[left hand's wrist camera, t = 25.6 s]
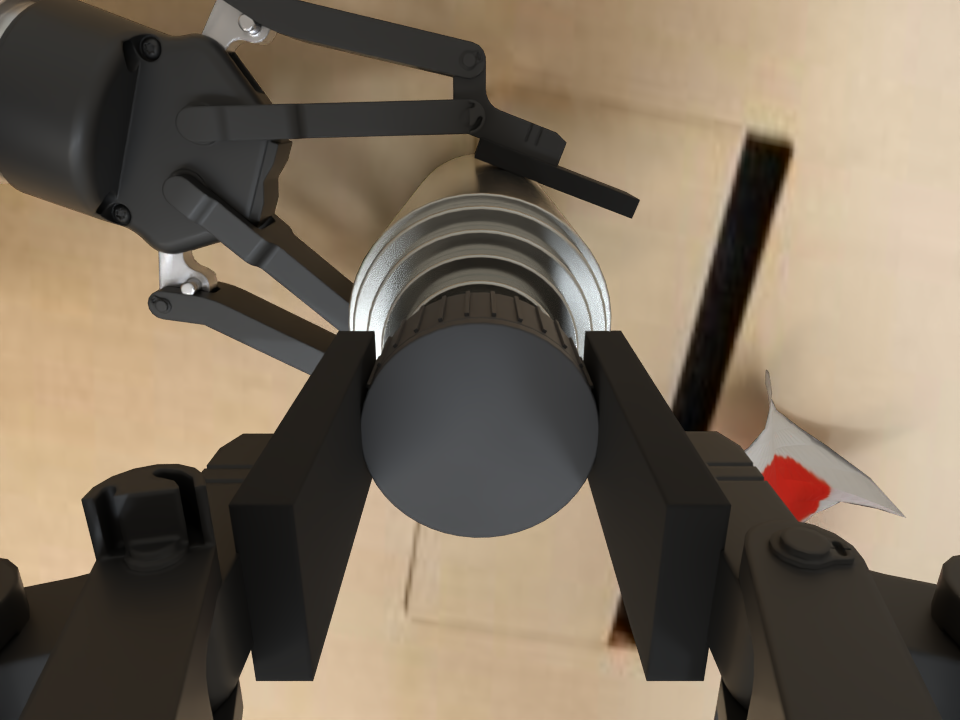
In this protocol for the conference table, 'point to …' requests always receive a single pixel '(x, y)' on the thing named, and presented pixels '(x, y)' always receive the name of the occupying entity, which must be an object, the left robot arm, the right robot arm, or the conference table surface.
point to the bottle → (479, 253)
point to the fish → (809, 469)
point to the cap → (479, 416)
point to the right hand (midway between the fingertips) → (587, 295)
